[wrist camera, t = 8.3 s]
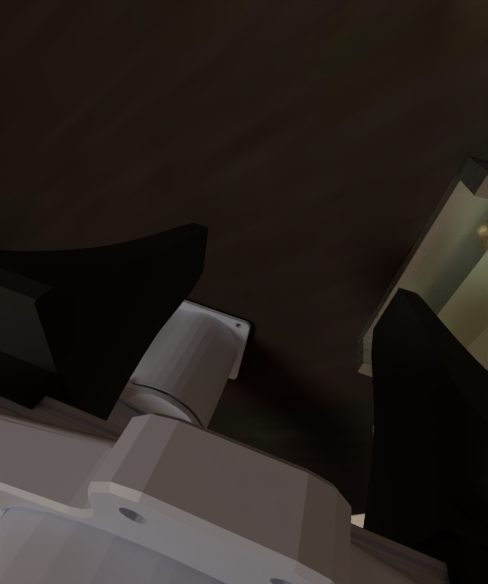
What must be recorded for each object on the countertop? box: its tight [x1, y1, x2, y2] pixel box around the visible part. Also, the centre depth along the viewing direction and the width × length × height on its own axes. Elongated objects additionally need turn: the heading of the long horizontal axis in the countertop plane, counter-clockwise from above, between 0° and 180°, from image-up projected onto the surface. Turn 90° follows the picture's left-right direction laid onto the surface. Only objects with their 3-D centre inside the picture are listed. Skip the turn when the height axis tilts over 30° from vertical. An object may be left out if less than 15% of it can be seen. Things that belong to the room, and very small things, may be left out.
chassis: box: [358, 156, 488, 377], centre depth 18 cm, size 14×9×4 cm, turn 170°
